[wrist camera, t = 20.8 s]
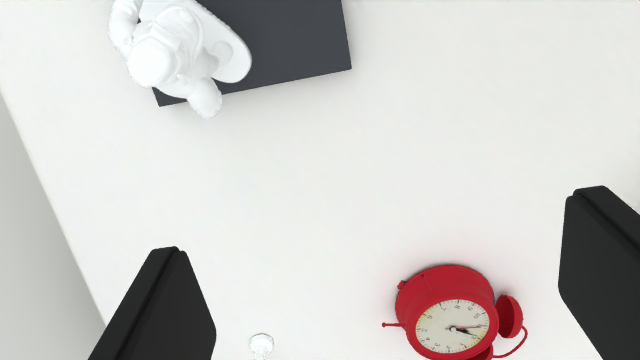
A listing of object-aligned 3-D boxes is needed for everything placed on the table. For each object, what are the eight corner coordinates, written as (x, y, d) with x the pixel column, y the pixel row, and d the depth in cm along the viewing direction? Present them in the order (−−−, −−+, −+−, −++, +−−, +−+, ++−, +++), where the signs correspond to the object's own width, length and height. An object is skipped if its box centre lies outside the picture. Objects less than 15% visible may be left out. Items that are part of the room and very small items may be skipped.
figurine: (275, 33, 33) (253, 70, 23) (228, 99, 36) (188, 161, 25) (168, -51, 31) (88, -54, 20) (125, 27, 33) (33, 61, 22)
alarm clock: (428, 267, 41) (567, 348, 41) (427, 235, 47) (549, 307, 47) (371, 339, 45) (497, 413, 45) (376, 302, 51) (488, 367, 51)
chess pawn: (248, 334, 50) (243, 360, 47) (271, 332, 50) (267, 357, 47) (253, 350, 51) (249, 376, 48) (275, 348, 51) (272, 374, 48)
